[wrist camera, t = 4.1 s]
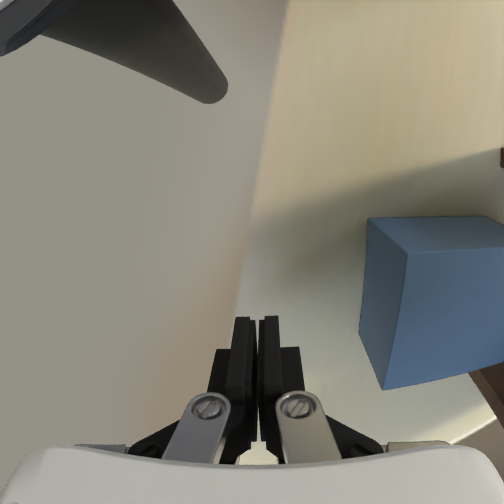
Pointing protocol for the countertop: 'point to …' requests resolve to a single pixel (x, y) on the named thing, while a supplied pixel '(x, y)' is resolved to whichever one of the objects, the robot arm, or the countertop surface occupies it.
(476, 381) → the brown wooden open box
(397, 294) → the blue block
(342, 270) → the countertop surface
